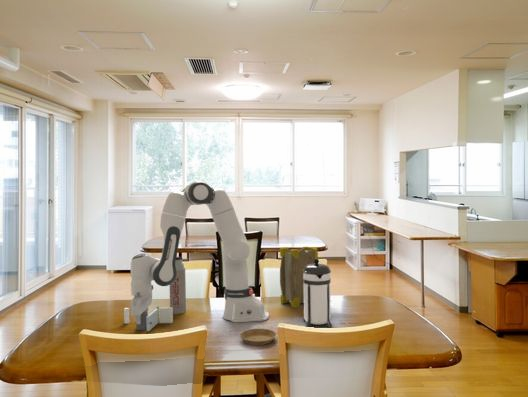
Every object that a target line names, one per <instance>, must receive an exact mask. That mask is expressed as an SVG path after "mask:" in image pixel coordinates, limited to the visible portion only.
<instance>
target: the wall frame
mask: <svg viewBox="0 0 528 397" xmlns="http://www.w3.org/2000/svg"><path fill="white" fill-rule="evenodd" d="M156 309H158V317H159V324H173V323H174V322H173V321H174V319H173V318H174V317H173V316H174V314H173V309H172V307H170V306H168V307H159V306H156ZM123 316H124V317H123V318H124V319H123V320H124V321H123V322H124V324H130V308H129V307H124V309H123Z"/></svg>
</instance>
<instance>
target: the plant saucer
mask: <svg viewBox="0 0 528 397" xmlns="http://www.w3.org/2000/svg"><path fill="white" fill-rule="evenodd" d="M276 336H277V333H276V332H275V331H274V330H271V329H266V328H251V329H248V330H244V331H242V332H241V333H240V336H239V337H240V338H241V339H242V341H244V342H245V343H247V344H248V345H252V346H263V345H268V344H269V343H271V342H272V341H273V340H274V339H275V338H276Z"/></svg>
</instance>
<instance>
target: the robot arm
mask: <svg viewBox="0 0 528 397" xmlns="http://www.w3.org/2000/svg"><path fill="white" fill-rule="evenodd" d="M195 205H196V206H200V205H206V206H207V208H208V209H209V211H210V214H211V217H212V220H213V223H214V225H215V227H216V231H217V232H218V235H219V237H220V239H221V242H222V244H223V260H224V273H225V287H224V299H225V302H224V308H223V309H224V310H223V314H222V318H223V319H224V320H228V321H231V322H233V323H249V322H250V323H251V322H261V321H266V320H268V319H269V318H270V313H269V312H268V310H265V306H264V303H263V301H262V300H260V299H259V298H257V297H256V296H255V295H254V290H253V288H252V287H250V286H249V271H248V264H247V262H248V261H247V259H248V258H249V257H250V254H251V246H250V244H249V242H248V240H247V237H246V235H245V232H244V230H243V228H242V226H241V224H240V221H239V220H238V219H239V218H238V216H237V213H236V211H235V208H234V205H233V203H232V201H231V199H230V197H229V196H228V194H227V192H226V190H225V189H222V188H215V189H214V188H213V187H212V186H210V185H209V184H208V183H207V182H205V181H202V180H201V181H200V180H196V181H191V182H190V183H189V184H187V185H186V187H185V188H183V190H182V191H172V192H170V193H168V195H167V198H166V200H165V203H164V205H163V208H162V212H161V216H160V221H159V222H160V229H161V232H162V235H163V246H162V250H161V251H162V252H161V258H157V257H154V256H152V255H150V254H149V253H146V252H145V253H140V254H136V255H134V256H133V257H132V259H131V262H130V278H131V281H130V282H131V283H130V292H131V293H130V295H131V296H133V297H132V299H131V302H130V315H131V317H134V318H135V323H136V324H141V318H140V316H141V314H142V313H143V312H148V313H149V307H150V306H151V305H152V302H153V290H154V284H152V281H154V282H155V284H157V285H158V286H161V287H169V286H170V284H172V283H173V282H174V281H175V279H176V275H177V272H176V266H175V261H176V257H177V256H178V250H179V243H180V240H181V235H182V232H183V229H184V226H185V223H186V222H185V221H186V218H187V214H188V210H189V208H190V207H191V206H195Z"/></svg>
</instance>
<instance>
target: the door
mask: <svg viewBox="0 0 528 397" xmlns="http://www.w3.org/2000/svg"><path fill="white" fill-rule="evenodd" d="M146 322H147V329H146V331H147V332H149V331H151V330H152V329H153V328H155V326H157V325H158V324H160V316H159V317H158V309H157V308H156V309H154V310H153V311H152V312H150V313H149V314H148V316H146Z"/></svg>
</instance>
